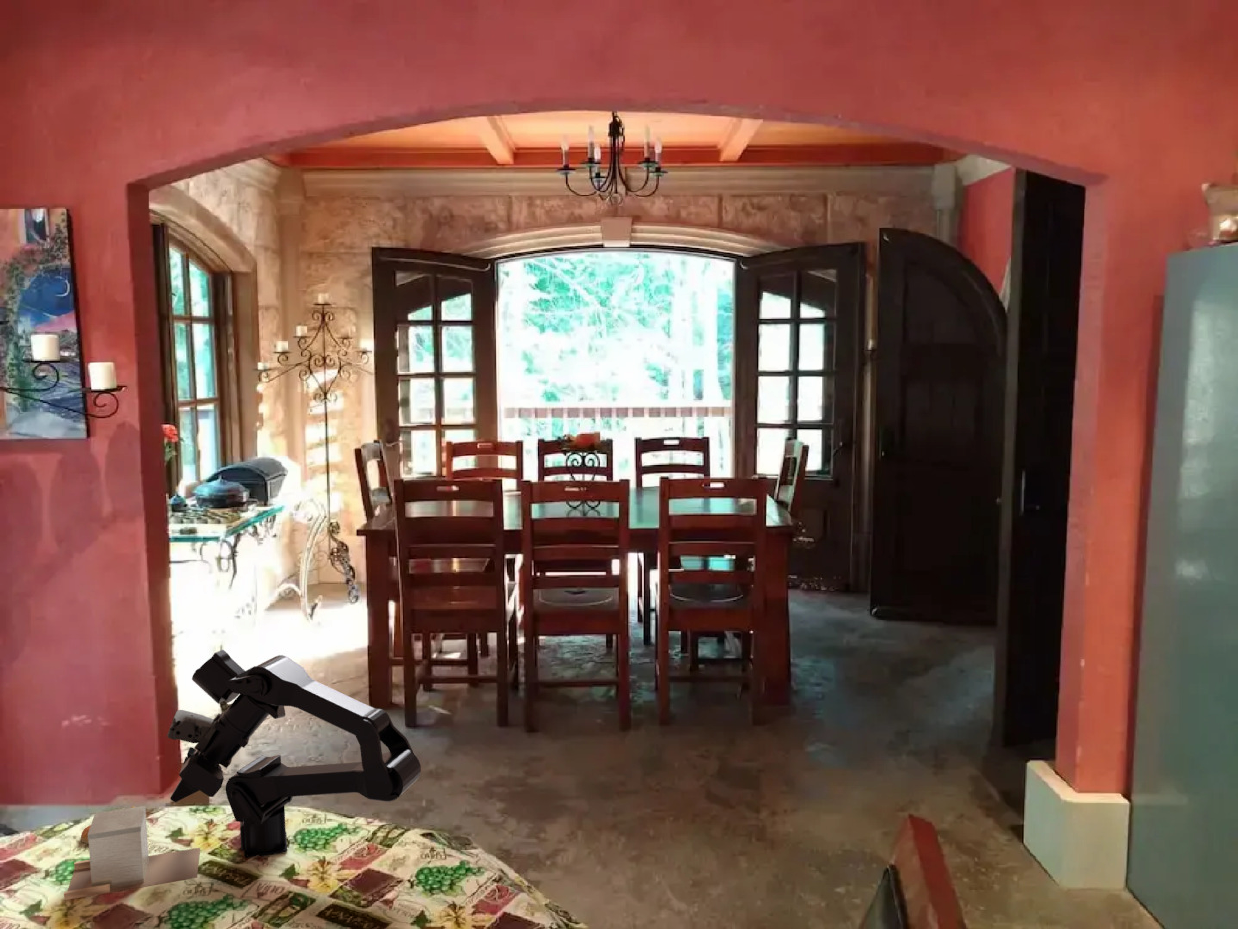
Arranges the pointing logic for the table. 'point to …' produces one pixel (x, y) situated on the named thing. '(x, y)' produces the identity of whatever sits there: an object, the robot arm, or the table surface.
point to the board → (157, 872)
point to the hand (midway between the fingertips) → (172, 800)
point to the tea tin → (118, 847)
